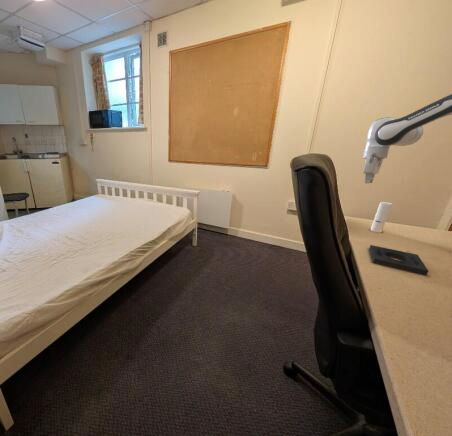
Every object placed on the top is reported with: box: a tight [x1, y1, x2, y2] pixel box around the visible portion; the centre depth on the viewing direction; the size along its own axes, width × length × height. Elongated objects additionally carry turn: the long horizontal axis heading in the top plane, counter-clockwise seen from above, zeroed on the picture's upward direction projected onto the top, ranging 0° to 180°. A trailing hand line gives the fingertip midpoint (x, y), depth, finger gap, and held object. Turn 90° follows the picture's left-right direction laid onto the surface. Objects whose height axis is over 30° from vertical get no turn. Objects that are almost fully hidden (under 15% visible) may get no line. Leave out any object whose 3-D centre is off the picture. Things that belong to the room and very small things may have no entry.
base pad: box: [368, 244, 429, 276], centre depth 86 cm, size 14×14×2 cm
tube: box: [370, 201, 393, 233], centre depth 111 cm, size 4×4×15 cm
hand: (368, 183), depth 109 cm, fingers open, 8 cm apart
